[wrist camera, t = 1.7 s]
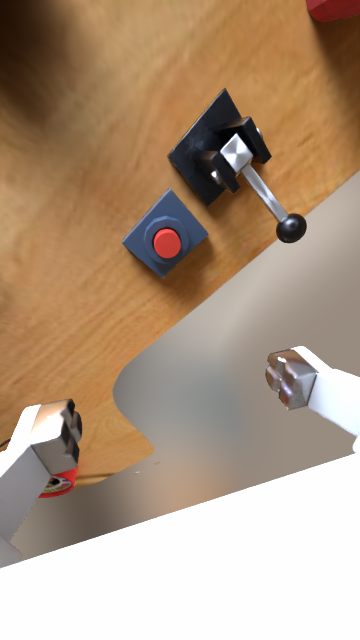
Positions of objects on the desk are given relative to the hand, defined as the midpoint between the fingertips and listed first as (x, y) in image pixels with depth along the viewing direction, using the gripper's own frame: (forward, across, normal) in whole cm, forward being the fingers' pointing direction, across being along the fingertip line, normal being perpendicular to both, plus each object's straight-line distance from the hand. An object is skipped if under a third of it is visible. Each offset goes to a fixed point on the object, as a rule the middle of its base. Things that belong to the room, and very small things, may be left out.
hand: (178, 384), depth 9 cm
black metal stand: (+32, -13, -10) cm, 36 cm away
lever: (+21, -16, -5) cm, 27 cm away
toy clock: (+49, +43, +77) cm, 101 cm away
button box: (+34, -6, 0) cm, 34 cm away
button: (+30, -5, +1) cm, 31 cm away
